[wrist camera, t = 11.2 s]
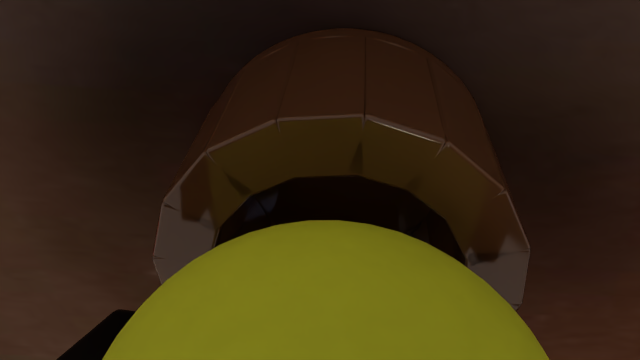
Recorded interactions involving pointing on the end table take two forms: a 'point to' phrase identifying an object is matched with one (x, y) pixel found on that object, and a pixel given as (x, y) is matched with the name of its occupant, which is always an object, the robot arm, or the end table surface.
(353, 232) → the ball
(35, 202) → the end table surface
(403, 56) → the holder
